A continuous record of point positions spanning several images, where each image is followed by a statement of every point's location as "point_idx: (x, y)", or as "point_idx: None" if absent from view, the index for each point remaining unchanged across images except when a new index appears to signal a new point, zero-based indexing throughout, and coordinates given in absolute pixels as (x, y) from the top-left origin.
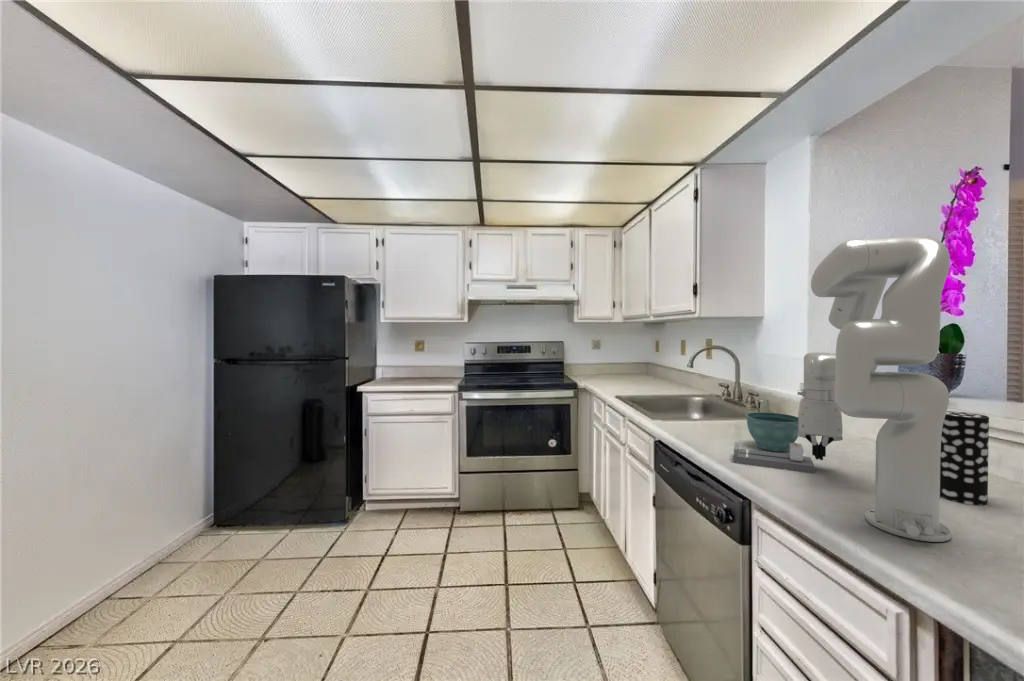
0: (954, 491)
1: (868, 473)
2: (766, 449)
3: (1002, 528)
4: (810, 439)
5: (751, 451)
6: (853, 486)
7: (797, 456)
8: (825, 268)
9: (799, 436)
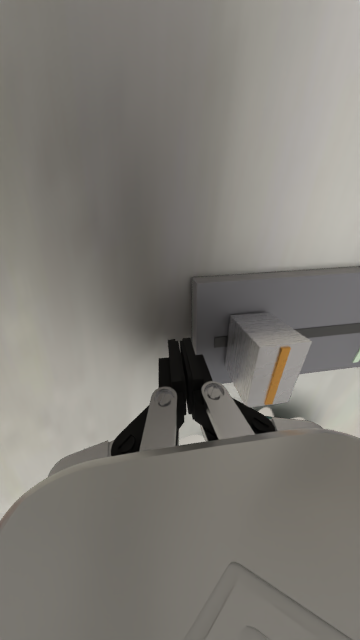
0: None
1: (53, 366)
2: (271, 417)
3: None
4: (238, 414)
5: (348, 355)
6: (60, 163)
7: (255, 321)
8: None
9: (301, 420)
